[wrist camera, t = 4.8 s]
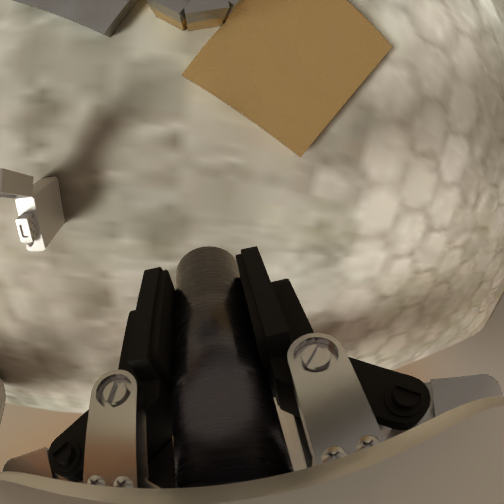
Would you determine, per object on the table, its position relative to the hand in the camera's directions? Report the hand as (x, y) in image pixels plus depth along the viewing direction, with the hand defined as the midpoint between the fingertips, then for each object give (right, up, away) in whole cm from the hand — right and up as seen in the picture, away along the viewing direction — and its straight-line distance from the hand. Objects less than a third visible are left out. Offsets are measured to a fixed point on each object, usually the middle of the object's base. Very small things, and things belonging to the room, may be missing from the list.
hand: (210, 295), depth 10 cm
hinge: (-2, +19, +3) cm, 20 cm away
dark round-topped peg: (0, +1, +1) cm, 1 cm away
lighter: (-15, +7, +9) cm, 18 cm away
